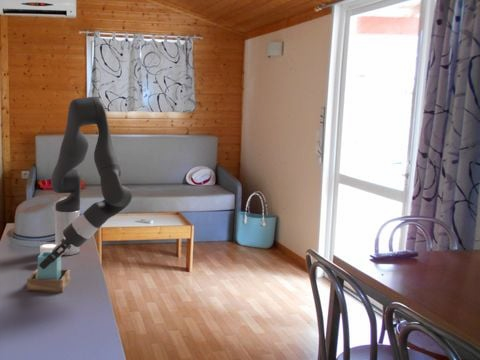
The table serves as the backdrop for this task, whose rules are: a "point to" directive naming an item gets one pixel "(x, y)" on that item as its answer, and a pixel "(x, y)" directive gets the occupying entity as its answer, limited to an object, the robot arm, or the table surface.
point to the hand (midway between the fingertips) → (44, 264)
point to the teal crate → (49, 267)
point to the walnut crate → (48, 283)
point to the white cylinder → (47, 247)
